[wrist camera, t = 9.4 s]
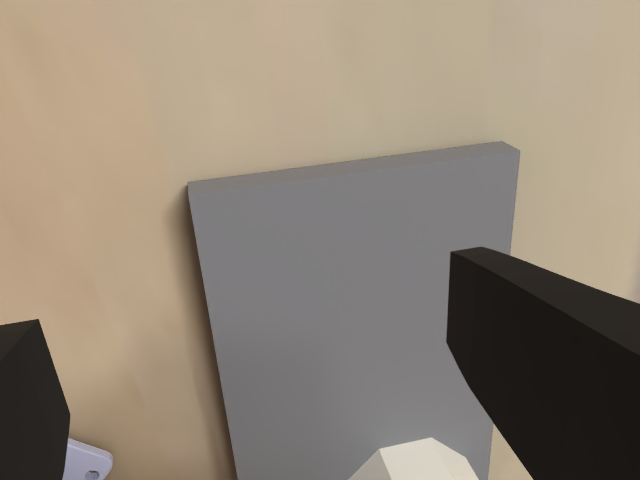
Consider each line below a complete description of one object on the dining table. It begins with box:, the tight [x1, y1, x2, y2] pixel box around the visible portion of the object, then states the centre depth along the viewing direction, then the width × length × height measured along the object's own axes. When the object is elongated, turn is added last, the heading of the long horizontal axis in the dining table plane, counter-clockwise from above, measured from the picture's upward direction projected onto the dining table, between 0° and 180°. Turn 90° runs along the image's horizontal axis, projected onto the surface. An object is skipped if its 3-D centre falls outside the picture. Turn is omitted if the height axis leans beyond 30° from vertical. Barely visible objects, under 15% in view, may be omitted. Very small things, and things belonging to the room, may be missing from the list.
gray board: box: [188, 141, 520, 480], centre depth 23 cm, size 20×11×1 cm, turn 4°
